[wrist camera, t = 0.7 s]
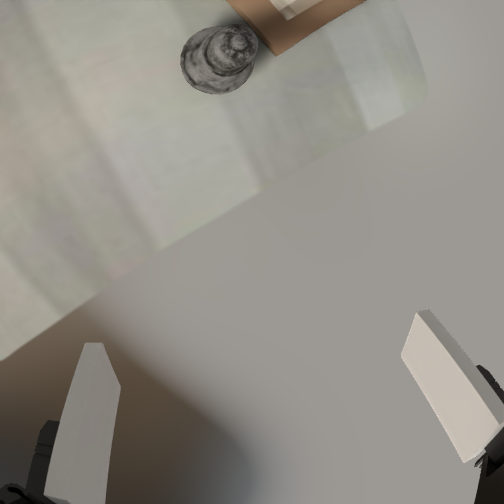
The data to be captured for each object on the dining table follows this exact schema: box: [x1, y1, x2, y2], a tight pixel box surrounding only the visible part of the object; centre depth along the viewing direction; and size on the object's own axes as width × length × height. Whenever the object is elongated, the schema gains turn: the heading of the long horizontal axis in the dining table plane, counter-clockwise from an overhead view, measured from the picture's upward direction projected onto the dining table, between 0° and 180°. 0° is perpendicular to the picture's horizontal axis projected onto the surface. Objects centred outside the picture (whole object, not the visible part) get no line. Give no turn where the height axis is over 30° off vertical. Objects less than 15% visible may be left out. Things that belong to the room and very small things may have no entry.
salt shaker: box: [180, 24, 258, 94], centre depth 20 cm, size 6×6×12 cm
